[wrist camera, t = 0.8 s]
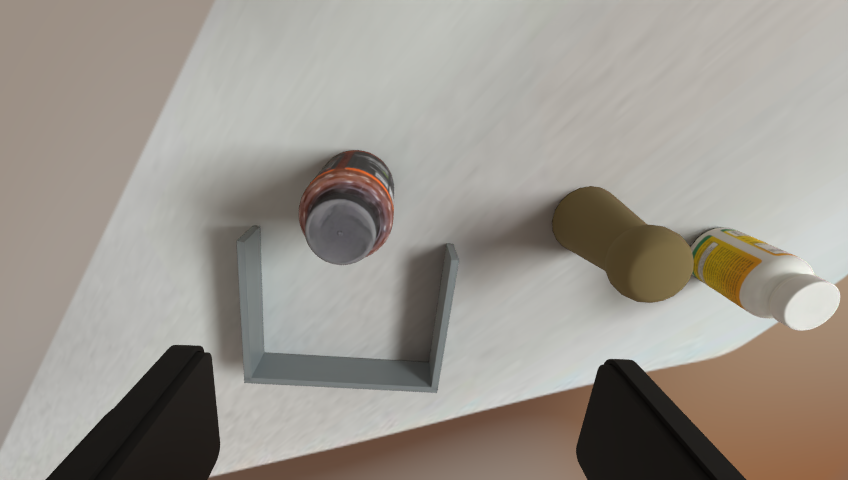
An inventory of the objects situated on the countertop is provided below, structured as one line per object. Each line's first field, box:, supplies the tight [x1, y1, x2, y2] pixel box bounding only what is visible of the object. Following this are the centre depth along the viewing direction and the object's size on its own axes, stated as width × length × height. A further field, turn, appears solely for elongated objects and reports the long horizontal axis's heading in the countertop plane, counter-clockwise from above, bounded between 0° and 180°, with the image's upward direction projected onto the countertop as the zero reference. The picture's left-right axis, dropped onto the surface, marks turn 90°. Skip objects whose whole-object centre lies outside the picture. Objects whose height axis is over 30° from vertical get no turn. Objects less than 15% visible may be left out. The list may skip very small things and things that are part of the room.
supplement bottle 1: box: [299, 150, 394, 265], centre depth 27 cm, size 6×6×11 cm
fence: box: [237, 226, 459, 393], centre depth 35 cm, size 14×17×4 cm
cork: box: [552, 186, 694, 303], centre depth 29 cm, size 6×6×11 cm
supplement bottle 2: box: [691, 228, 840, 330], centre depth 32 cm, size 5×5×10 cm
